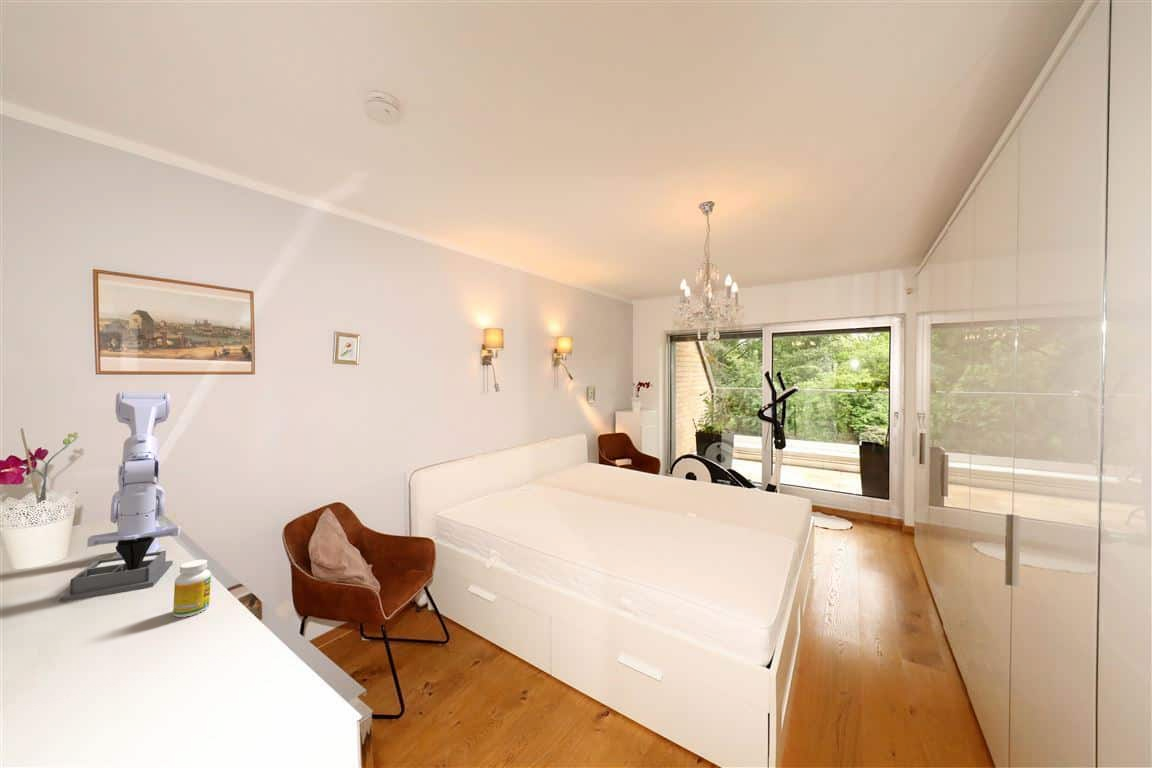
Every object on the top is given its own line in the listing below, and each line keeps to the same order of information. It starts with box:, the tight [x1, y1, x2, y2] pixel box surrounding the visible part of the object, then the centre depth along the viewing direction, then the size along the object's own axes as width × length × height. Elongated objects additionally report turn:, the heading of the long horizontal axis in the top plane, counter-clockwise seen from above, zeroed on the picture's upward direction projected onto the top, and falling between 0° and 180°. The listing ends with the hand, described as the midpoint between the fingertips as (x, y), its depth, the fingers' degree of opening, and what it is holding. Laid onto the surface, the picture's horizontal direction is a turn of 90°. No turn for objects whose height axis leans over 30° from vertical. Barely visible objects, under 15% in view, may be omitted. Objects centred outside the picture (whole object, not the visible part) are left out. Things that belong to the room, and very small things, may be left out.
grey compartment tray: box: [58, 550, 173, 603], centre depth 93 cm, size 14×14×4 cm
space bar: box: [97, 555, 158, 567], centre depth 96 cm, size 4×10×2 cm, turn 122°
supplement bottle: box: [172, 559, 212, 618], centre depth 82 cm, size 5×5×10 cm
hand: (134, 571), depth 93 cm, fingers closed, pressing on terracotta key
